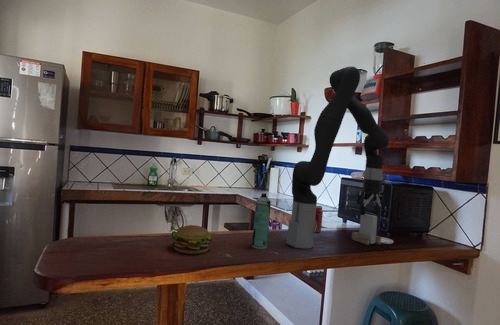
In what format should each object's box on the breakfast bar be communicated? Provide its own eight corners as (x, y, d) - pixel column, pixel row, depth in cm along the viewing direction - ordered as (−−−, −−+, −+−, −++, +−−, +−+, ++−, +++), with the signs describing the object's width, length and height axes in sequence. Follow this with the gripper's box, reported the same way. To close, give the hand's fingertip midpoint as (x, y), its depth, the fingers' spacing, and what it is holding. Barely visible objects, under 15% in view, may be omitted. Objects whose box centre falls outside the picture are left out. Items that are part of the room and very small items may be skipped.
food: (220, 249, 111) (222, 227, 110) (192, 258, 99) (194, 233, 99) (192, 240, 118) (194, 219, 118) (162, 248, 107) (164, 224, 106)
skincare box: (375, 243, 141) (378, 216, 140) (370, 244, 138) (373, 216, 137) (363, 239, 145) (365, 213, 145) (357, 240, 142) (360, 213, 142)
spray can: (267, 246, 120) (272, 193, 120) (264, 250, 115) (269, 195, 114) (254, 243, 121) (258, 191, 121) (250, 247, 116) (255, 193, 116)
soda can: (303, 229, 155) (305, 204, 155) (316, 229, 157) (318, 205, 157) (310, 233, 149) (312, 207, 148) (323, 233, 151) (326, 208, 150)
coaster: (383, 244, 140) (383, 242, 140) (367, 238, 148) (367, 236, 148) (397, 243, 144) (397, 241, 144) (381, 237, 152) (381, 236, 152)
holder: (367, 244, 136) (367, 237, 136) (351, 239, 144) (352, 232, 144) (380, 244, 140) (381, 237, 140) (364, 238, 148) (365, 232, 148)
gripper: (367, 178, 134) (364, 216, 135) (391, 180, 141) (387, 216, 141) (354, 177, 141) (351, 213, 142) (377, 178, 147) (374, 212, 148)
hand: (369, 214), depth 141 cm, fingers open, 8 cm apart
